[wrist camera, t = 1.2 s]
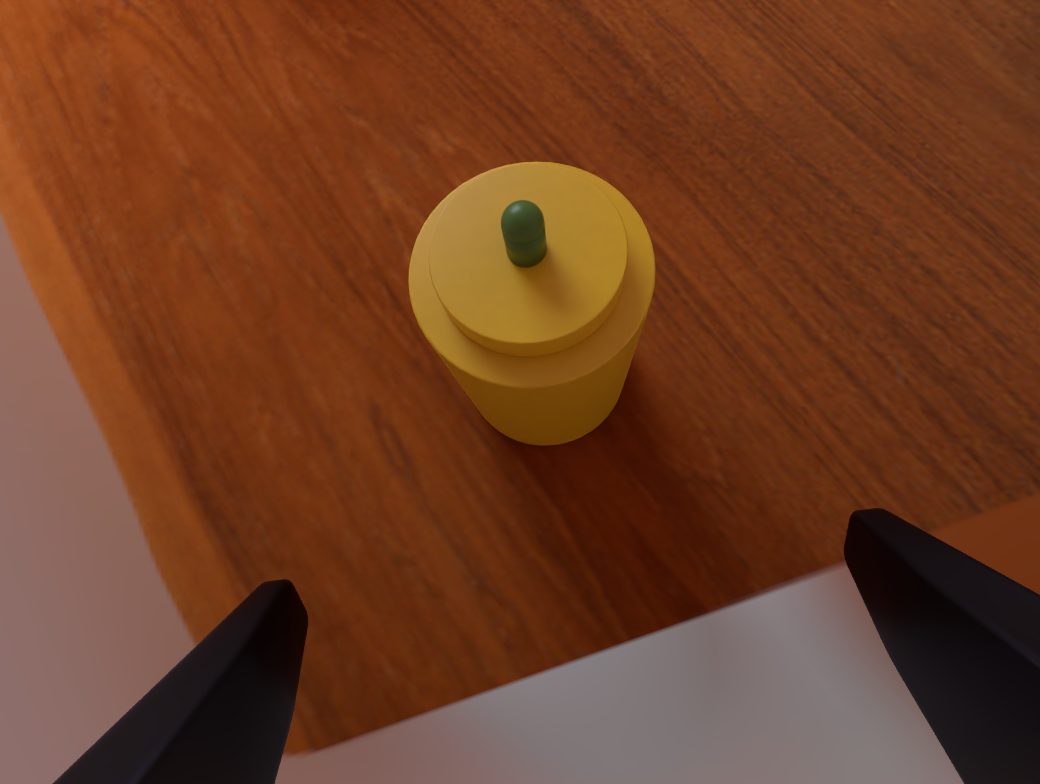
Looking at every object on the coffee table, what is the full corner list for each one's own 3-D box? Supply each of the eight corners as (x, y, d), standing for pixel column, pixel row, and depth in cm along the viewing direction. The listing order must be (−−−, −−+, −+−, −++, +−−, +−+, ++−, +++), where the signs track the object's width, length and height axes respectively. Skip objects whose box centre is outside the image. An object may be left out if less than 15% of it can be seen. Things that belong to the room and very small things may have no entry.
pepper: (649, 414, 23) (725, 290, 12) (494, 468, 23) (419, 397, 12) (591, 274, 25) (607, 49, 13) (448, 325, 25) (343, 141, 13)
